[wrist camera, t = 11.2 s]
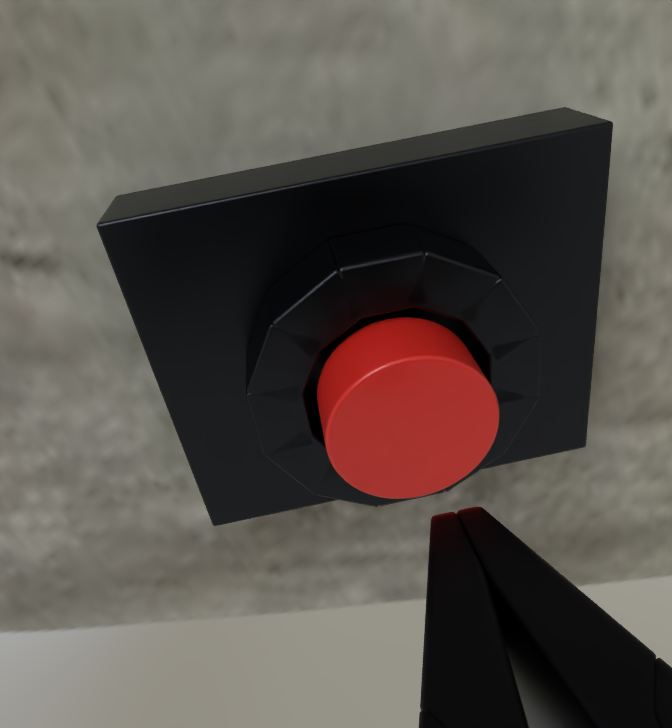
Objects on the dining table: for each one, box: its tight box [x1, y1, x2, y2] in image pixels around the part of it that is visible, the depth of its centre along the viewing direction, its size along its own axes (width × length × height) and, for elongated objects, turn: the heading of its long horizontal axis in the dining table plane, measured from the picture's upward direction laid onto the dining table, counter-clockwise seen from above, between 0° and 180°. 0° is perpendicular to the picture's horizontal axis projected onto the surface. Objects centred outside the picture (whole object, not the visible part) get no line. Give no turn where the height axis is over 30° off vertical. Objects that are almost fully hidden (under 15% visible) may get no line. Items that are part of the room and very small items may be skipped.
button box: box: [97, 107, 613, 526], centre depth 15 cm, size 11×9×4 cm
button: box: [317, 317, 499, 499], centre depth 13 cm, size 4×4×2 cm
